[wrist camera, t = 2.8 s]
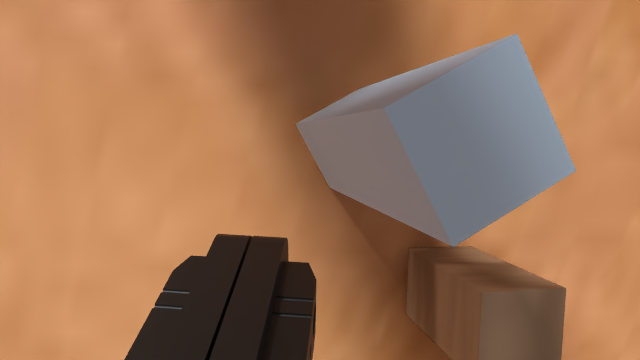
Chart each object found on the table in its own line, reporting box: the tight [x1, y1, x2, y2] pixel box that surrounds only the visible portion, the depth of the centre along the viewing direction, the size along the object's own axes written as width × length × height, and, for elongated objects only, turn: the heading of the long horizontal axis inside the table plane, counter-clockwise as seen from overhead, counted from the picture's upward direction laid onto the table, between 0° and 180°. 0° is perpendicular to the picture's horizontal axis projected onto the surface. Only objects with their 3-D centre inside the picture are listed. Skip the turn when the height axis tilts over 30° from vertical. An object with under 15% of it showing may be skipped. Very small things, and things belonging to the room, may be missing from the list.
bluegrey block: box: [296, 34, 576, 247], centre depth 24 cm, size 5×5×18 cm
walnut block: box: [406, 246, 566, 360], centre depth 30 cm, size 5×5×10 cm
